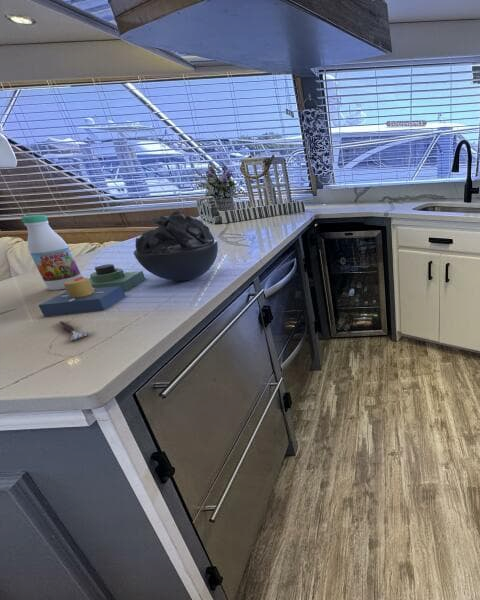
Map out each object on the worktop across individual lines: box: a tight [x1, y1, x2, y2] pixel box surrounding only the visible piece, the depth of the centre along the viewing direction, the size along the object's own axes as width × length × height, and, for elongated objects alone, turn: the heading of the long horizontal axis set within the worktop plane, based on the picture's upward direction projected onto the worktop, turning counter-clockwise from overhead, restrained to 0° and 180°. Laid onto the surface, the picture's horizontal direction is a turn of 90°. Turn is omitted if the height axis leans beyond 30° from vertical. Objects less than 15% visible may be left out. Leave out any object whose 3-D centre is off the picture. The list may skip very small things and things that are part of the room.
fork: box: [59, 320, 90, 341], centre depth 65 cm, size 3×16×2 cm, turn 57°
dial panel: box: [38, 286, 126, 318], centre depth 77 cm, size 12×9×3 cm
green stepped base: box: [88, 267, 146, 292], centre depth 89 cm, size 12×10×4 cm
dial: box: [63, 276, 94, 298], centre depth 76 cm, size 4×4×4 cm
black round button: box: [94, 263, 116, 275], centre depth 88 cm, size 4×4×2 cm
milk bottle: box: [20, 214, 83, 291], centre depth 89 cm, size 8×8×20 cm
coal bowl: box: [133, 210, 219, 282], centre depth 91 cm, size 20×20×19 cm
